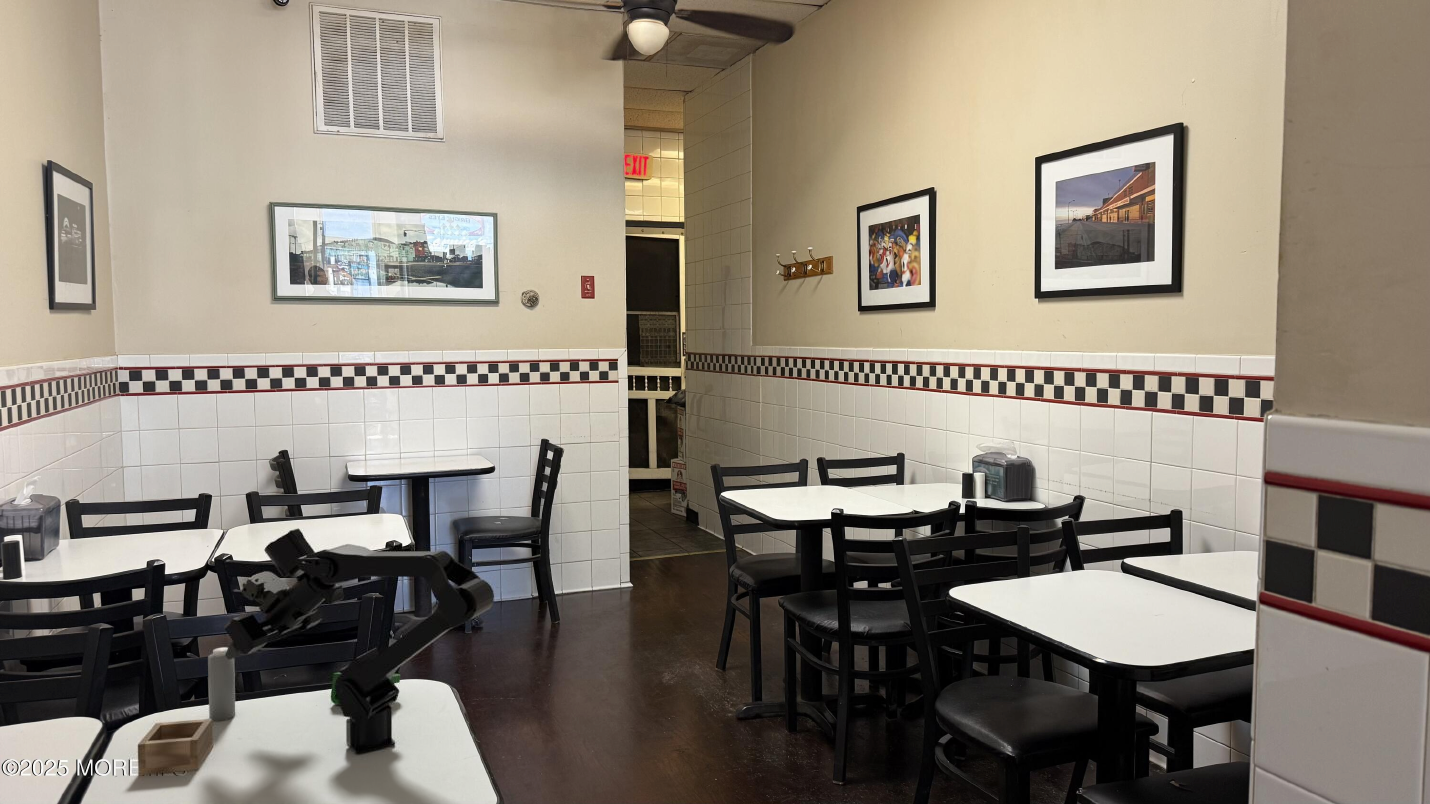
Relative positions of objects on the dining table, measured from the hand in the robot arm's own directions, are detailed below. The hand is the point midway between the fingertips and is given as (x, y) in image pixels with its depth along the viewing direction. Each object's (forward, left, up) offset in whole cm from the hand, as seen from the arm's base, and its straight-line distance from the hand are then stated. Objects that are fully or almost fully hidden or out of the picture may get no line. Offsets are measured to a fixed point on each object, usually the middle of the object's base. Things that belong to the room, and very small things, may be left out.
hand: (247, 648), depth 163 cm
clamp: (-21, -1, -15) cm, 25 cm away
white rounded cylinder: (+3, -8, -14) cm, 16 cm away
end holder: (+12, +8, -14) cm, 20 cm away
